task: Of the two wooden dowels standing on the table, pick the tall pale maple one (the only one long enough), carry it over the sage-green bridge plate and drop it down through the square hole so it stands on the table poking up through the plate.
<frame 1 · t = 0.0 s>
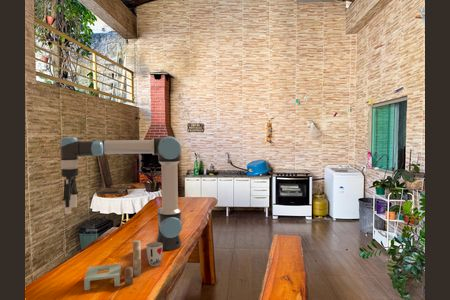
hand: (71, 210, 155), 28 cm above the table, fingers open, 13 cm apart
bridge: (103, 281, 138), on the table
cup: (154, 264, 156), on the table
short pin: (129, 283, 136), on the table
long pin: (137, 274, 145), on the table
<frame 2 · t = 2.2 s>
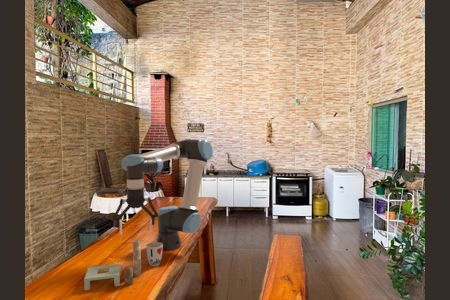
hand: (136, 233, 143), 20 cm above the table, fingers open, 13 cm apart
nothing on the table moved.
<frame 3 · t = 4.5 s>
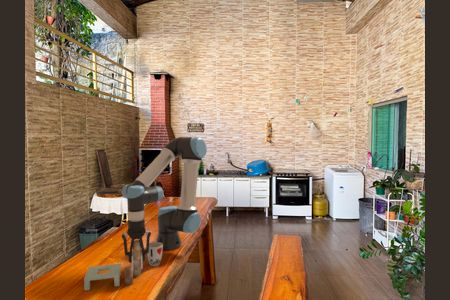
hand: (137, 268, 144), 3 cm above the table, fingers closed on long pin, 3 cm apart
long pin: (137, 274, 145), on the table, touching gripper
everything else where it was.
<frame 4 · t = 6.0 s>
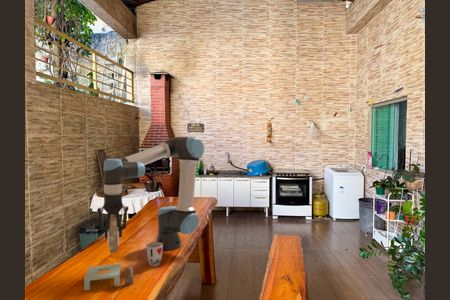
hand: (113, 244, 139), 16 cm above the table, fingers closed on long pin, 3 cm apart
long pin: (113, 251, 139), point 13 cm above the table, touching gripper
everything else where it was.
when the fingers open (7 cm above the table, at t = 7.8 s): long pin drops 3 cm, on the table.
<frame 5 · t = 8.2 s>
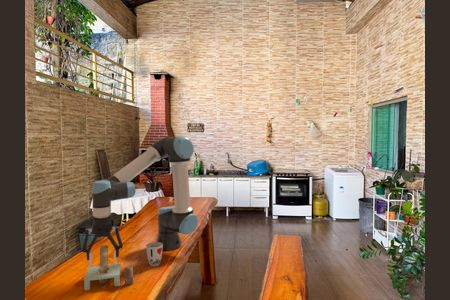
hand: (103, 265, 137), 8 cm above the table, fingers open, 9 cm apart
long pin: (103, 281, 138), on the table
everything else where it was.
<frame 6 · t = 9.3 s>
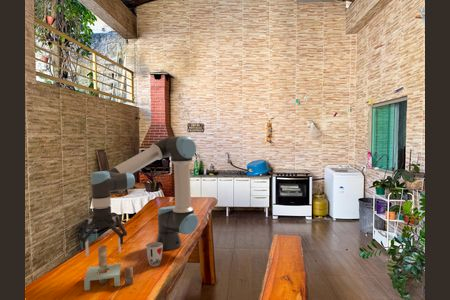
hand: (103, 253, 137), 13 cm above the table, fingers open, 13 cm apart
nothing on the table moved.
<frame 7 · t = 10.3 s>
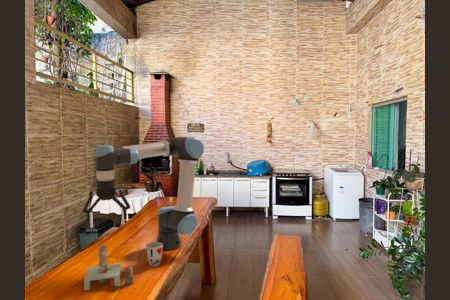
hand: (107, 225, 140), 24 cm above the table, fingers open, 13 cm apart
nothing on the table moved.
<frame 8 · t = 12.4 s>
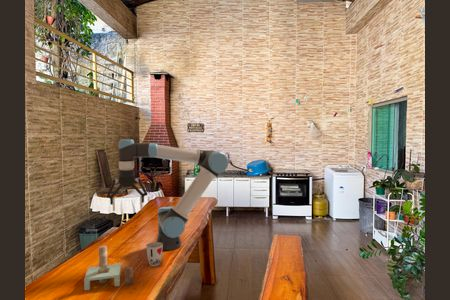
hand: (127, 209, 160), 27 cm above the table, fingers open, 13 cm apart
nothing on the table moved.
at the end: long pin 0.2 cm off-centre on the bridge, point 0.0 cm above the bridge's base; long pin tilted 1°; the gripper is holding nothing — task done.
